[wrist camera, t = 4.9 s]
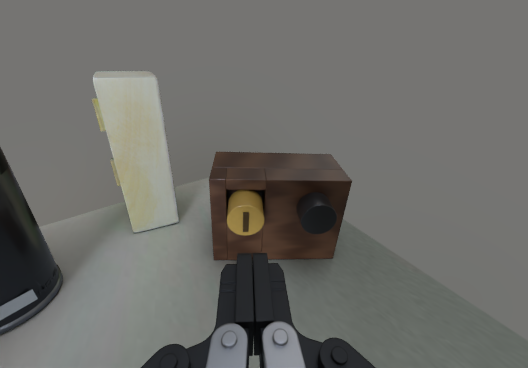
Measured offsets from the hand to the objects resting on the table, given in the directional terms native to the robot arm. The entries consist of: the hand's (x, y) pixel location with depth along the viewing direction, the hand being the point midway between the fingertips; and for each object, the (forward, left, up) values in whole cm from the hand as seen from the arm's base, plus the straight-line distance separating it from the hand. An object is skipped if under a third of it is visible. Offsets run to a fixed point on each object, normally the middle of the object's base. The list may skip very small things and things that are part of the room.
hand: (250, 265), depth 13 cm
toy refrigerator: (-15, +25, -15) cm, 33 cm away
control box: (+4, +18, -15) cm, 24 cm away
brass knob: (0, +14, -9) cm, 16 cm away
